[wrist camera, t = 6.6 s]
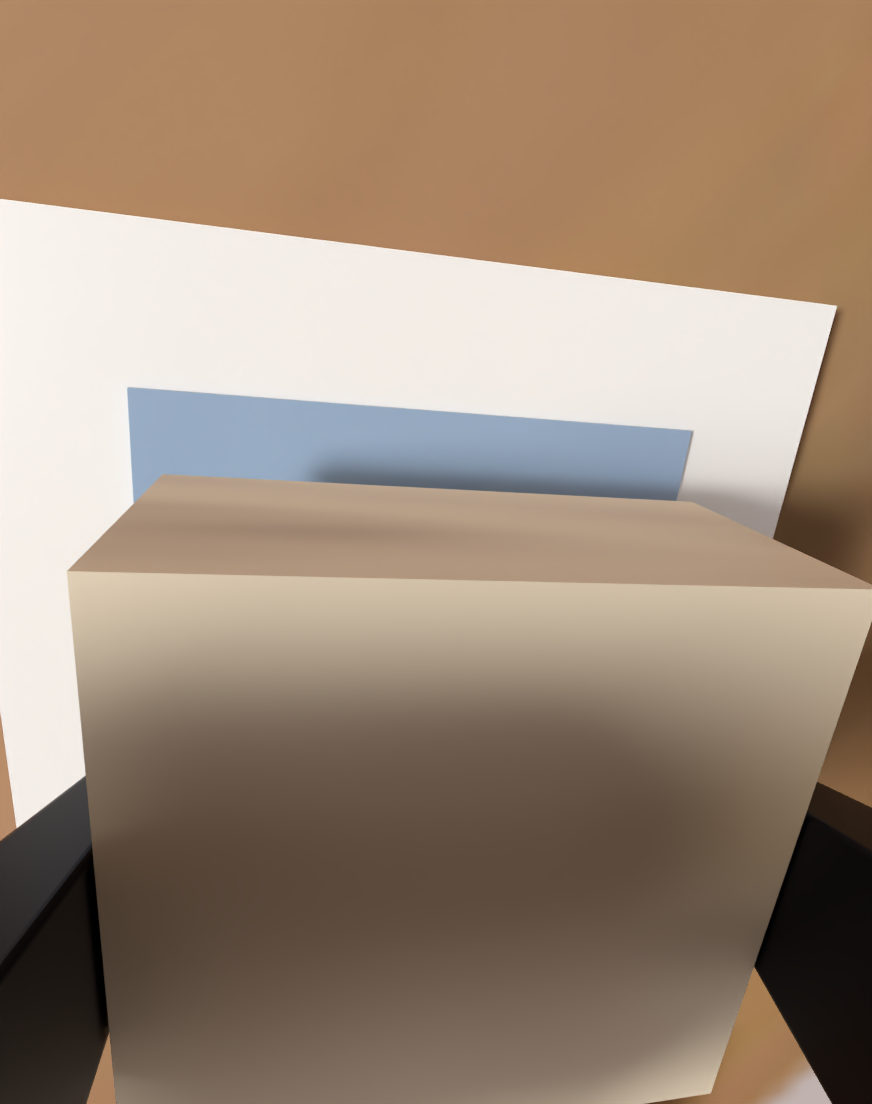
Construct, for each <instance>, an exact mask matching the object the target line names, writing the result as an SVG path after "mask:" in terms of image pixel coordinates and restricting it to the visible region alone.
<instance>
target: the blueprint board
mask: <svg viewBox="0 0 872 1104" xmlns="http://www.w3.org/2000/svg"><path fill="white" fill-rule="evenodd" d="M836 308H837V306H834V305H826V304H818V303H811V302H803V301H795V300H787V299H779V298H772V297H764V296H756V295H748V294H740V293H732V292H725V291H717V290H709V289H701V288H693V287H685V286H678V285H670V284H662V283H654V282H646V281H638V280H631V279H623V278H615V277H607V276H599V275H592V274H584V273H576V272H568V271H560V270H552V269H545V268H537V267H529V266H521V265H513V264H505V263H498V262H490V261H482V260H474V259H466V258H458V257H451V256H443V255H435V254H427V253H419V252H411V251H404V250H396V249H388V248H380V247H372V246H365V245H357V244H349V243H341V242H333V241H325V240H318V239H310V238H302V237H294V236H286V235H278V234H271V233H263V232H255V231H247V230H239V229H231V228H224V227H216V226H208V225H200V224H192V223H185V222H177V221H169V220H161V219H153V218H145V217H138V216H130V215H122V214H114V213H106V212H98V211H91V210H83V209H75V208H67V207H59V206H51V205H44V204H36V203H28V202H20V201H12V200H5V199H0V712H1V719H2V727H3V734H4V741H5V748H6V755H7V762H8V769H9V777H10V784H11V791H12V798H13V805H14V812H15V819H16V826H17V828H18V827H19V826H20V825H22V824H23V823H24V822H26V821H27V820H28V819H29V818H31V817H32V816H33V815H35V814H36V813H37V812H38V811H40V810H41V809H42V808H44V807H45V806H46V805H48V804H49V803H50V802H51V801H53V800H54V799H55V798H57V797H58V796H59V795H61V794H62V793H63V792H64V791H66V790H67V789H68V788H70V787H71V786H72V785H74V784H75V783H76V782H77V781H79V780H80V779H81V778H83V777H84V776H85V775H86V774H85V763H84V752H83V741H82V731H81V720H80V709H79V698H78V687H77V677H76V666H75V655H74V644H73V633H72V623H71V612H70V601H69V590H68V579H67V570H68V569H69V568H70V567H71V566H72V565H73V564H74V563H75V562H76V561H77V560H78V559H79V558H80V557H81V556H82V555H83V554H84V553H85V552H86V551H87V550H88V549H89V548H90V547H91V546H92V545H93V544H94V543H95V542H96V541H97V540H98V539H99V538H100V537H101V536H102V535H103V534H104V533H105V532H106V531H107V530H108V529H109V528H110V527H111V526H112V525H113V524H114V523H115V522H116V521H117V520H118V519H119V518H120V517H121V516H122V515H123V514H124V513H125V512H126V511H127V510H128V509H129V508H130V507H131V506H132V505H133V504H134V503H135V502H136V501H137V500H138V499H139V498H140V497H141V496H142V495H143V494H144V492H145V491H146V490H147V489H148V488H149V487H150V486H151V485H152V484H153V483H154V482H155V481H156V480H157V479H158V478H159V477H160V476H161V475H162V474H170V475H189V476H209V477H228V478H247V479H266V480H285V481H304V482H323V483H342V484H361V485H380V486H399V487H418V488H438V489H457V490H476V491H495V492H514V493H533V494H552V495H571V496H590V497H609V498H628V499H647V500H667V501H686V502H694V503H696V504H698V505H700V506H702V507H704V508H707V509H709V510H711V511H713V512H715V513H717V514H720V515H722V516H724V517H726V518H728V519H730V520H733V521H735V522H737V523H739V524H741V525H743V526H746V527H748V528H750V529H752V530H754V531H756V532H759V533H761V534H763V535H765V536H767V537H769V538H772V539H773V536H774V532H775V529H776V525H777V521H778V518H779V514H780V511H781V507H782V503H783V500H784V496H785V493H786V489H787V485H788V482H789V478H790V474H791V471H792V467H793V464H794V460H795V456H796V453H797V449H798V446H799V442H800V438H801V435H802V431H803V428H804V424H805V420H806V417H807V413H808V409H809V406H810V402H811V399H812V395H813V391H814V388H815V384H816V381H817V377H818V373H819V370H820V366H821V363H822V359H823V355H824V352H825V348H826V344H827V341H828V337H829V334H830V330H831V326H832V323H833V319H834V316H835V312H836Z"/></svg>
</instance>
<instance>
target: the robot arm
mask: <svg viewBox="0 0 872 1104" xmlns="http://www.w3.org/2000/svg"><path fill="white" fill-rule="evenodd" d="M754 967H755V969H756V971H757V972H758V974H759V976H760V978H761V979H762V981H763V983H764V985H765V987H766V988H767V990H768V992H769V994H770V995H771V997H772V999H773V1001H774V1002H775V1004H776V1006H777V1008H778V1009H779V1011H780V1013H781V1015H782V1017H783V1018H784V1020H785V1022H786V1024H787V1025H788V1027H789V1029H790V1031H791V1032H792V1034H793V1036H794V1038H795V1039H796V1041H797V1043H798V1045H799V1046H800V1048H801V1050H802V1052H803V1054H804V1055H805V1057H806V1059H807V1061H808V1062H809V1064H810V1066H811V1068H812V1069H813V1071H814V1073H815V1075H816V1076H817V1078H818V1080H819V1082H820V1084H821V1085H822V1087H823V1089H824V1091H825V1092H826V1094H827V1096H828V1098H829V1099H830V1101H831V1103H832V1104H872V808H871V807H869V806H867V805H865V804H863V803H861V802H858V801H856V800H854V799H852V798H850V797H848V796H846V795H844V794H842V793H840V792H837V791H835V790H833V789H831V788H829V787H827V786H825V785H823V784H821V783H819V782H817V783H816V786H815V789H814V792H813V795H812V798H811V801H810V804H809V806H808V809H807V812H806V815H805V818H804V821H803V824H802V827H801V830H800V833H799V836H798V839H797V842H796V844H795V847H794V850H793V853H792V856H791V859H790V862H789V865H788V868H787V871H786V874H785V877H784V880H783V883H782V885H781V888H780V891H779V894H778V897H777V900H776V903H775V906H774V909H773V912H772V915H771V918H770V921H769V923H768V926H767V929H766V932H765V935H764V938H763V941H762V944H761V947H760V950H759V953H758V956H757V959H756V962H755V964H754ZM108 1034H109V1022H108V1012H107V1001H106V990H105V979H104V968H103V957H102V947H101V936H100V925H99V914H98V903H97V893H96V882H95V871H94V860H93V849H92V839H91V828H90V817H89V806H88V795H87V785H86V775H85V776H84V777H83V778H81V779H80V780H79V781H77V782H76V783H75V784H74V785H72V786H71V787H70V788H68V789H67V790H66V791H64V792H63V793H62V794H61V795H59V796H58V797H57V798H55V799H54V800H53V801H51V802H50V803H49V804H48V805H46V806H45V807H44V808H42V809H41V810H40V811H38V812H37V813H36V814H35V815H33V816H32V817H31V818H29V819H28V820H27V821H26V822H24V823H23V824H22V825H20V826H19V827H18V828H16V829H15V830H14V831H13V832H11V833H10V834H9V835H7V836H6V837H5V838H3V839H2V840H1V841H0V1104H86V1103H87V1100H88V1097H89V1094H90V1090H91V1087H92V1084H93V1081H94V1078H95V1075H96V1072H97V1069H98V1065H99V1062H100V1059H101V1056H102V1053H103V1050H104V1047H105V1044H106V1040H107V1037H108Z"/></svg>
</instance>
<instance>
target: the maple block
mask: <svg viewBox="0 0 872 1104" xmlns="http://www.w3.org/2000/svg"><path fill="white" fill-rule="evenodd" d="M67 579H68V590H69V601H70V612H71V623H72V633H73V644H74V655H75V666H76V677H77V687H78V698H79V709H80V720H81V731H82V741H83V752H84V763H85V774H86V785H87V795H88V806H89V817H90V828H91V839H92V849H93V860H94V871H95V882H96V893H97V903H98V914H99V925H100V936H101V947H102V957H103V968H104V979H105V990H106V1001H107V1012H108V1022H109V1033H110V1044H111V1055H112V1066H113V1076H114V1087H115V1098H116V1104H647V1103H653V1102H659V1101H665V1100H672V1099H678V1098H684V1097H690V1096H697V1095H703V1094H709V1093H711V1090H712V1087H713V1084H714V1081H715V1079H716V1076H717V1073H718V1070H719V1067H720V1064H721V1061H722V1058H723V1055H724V1052H725V1049H726V1046H727V1043H728V1041H729V1038H730V1035H731V1032H732V1029H733V1026H734V1023H735V1020H736V1017H737V1014H738V1011H739V1008H740V1005H741V1002H742V1000H743V997H744V994H745V991H746V988H747V985H748V982H749V979H750V976H751V973H752V970H753V967H754V964H755V962H756V959H757V956H758V953H759V950H760V947H761V944H762V941H763V938H764V935H765V932H766V929H767V926H768V923H769V921H770V918H771V915H772V912H773V909H774V906H775V903H776V900H777V897H778V894H779V891H780V888H781V885H782V883H783V880H784V877H785V874H786V871H787V868H788V865H789V862H790V859H791V856H792V853H793V850H794V847H795V844H796V842H797V839H798V836H799V833H800V830H801V827H802V824H803V821H804V818H805V815H806V812H807V809H808V806H809V804H810V801H811V798H812V795H813V792H814V789H815V786H816V783H817V780H818V777H819V774H820V771H821V768H822V765H823V763H824V760H825V757H826V754H827V751H828V748H829V745H830V742H831V739H832V736H833V733H834V730H835V727H836V725H837V722H838V719H839V716H840V713H841V710H842V707H843V704H844V701H845V698H846V695H847V692H848V689H849V686H850V684H851V681H852V678H853V675H854V672H855V669H856V666H857V663H858V660H859V657H860V654H861V651H862V648H863V646H864V643H865V640H866V637H867V634H868V631H869V628H870V625H871V622H872V585H871V584H869V583H867V582H865V581H863V580H860V579H858V578H856V577H854V576H852V575H850V574H847V573H845V572H843V571H841V570H839V569H837V568H834V567H832V566H830V565H828V564H826V563H824V562H821V561H819V560H817V559H815V558H813V557H811V556H808V555H806V554H804V553H802V552H800V551H798V550H795V549H793V548H791V547H789V546H787V545H785V544H782V543H780V542H778V541H776V540H774V539H772V538H769V537H767V536H765V535H763V534H761V533H759V532H756V531H754V530H752V529H750V528H748V527H746V526H743V525H741V524H739V523H737V522H735V521H733V520H730V519H728V518H726V517H724V516H722V515H720V514H717V513H715V512H713V511H711V510H709V509H707V508H704V507H702V506H700V505H698V504H696V503H694V502H686V501H667V500H647V499H628V498H609V497H590V496H571V495H552V494H533V493H514V492H495V491H476V490H457V489H438V488H418V487H399V486H380V485H361V484H342V483H323V482H304V481H285V480H266V479H247V478H228V477H209V476H189V475H170V474H162V475H161V476H160V477H159V478H158V479H157V480H156V481H155V482H154V483H153V484H152V485H151V486H150V487H149V488H148V489H147V490H146V491H145V492H144V494H143V495H142V496H141V497H140V498H139V499H138V500H137V501H136V502H135V503H134V504H133V505H132V506H131V507H130V508H129V509H128V510H127V511H126V512H125V513H124V514H123V515H122V516H121V517H120V518H119V519H118V520H117V521H116V522H115V523H114V524H113V525H112V526H111V527H110V528H109V529H108V530H107V531H106V532H105V533H104V534H103V535H102V536H101V537H100V538H99V539H98V540H97V541H96V542H95V543H94V544H93V545H92V546H91V547H90V548H89V549H88V550H87V551H86V552H85V553H84V554H83V555H82V556H81V557H80V558H79V559H78V560H77V561H76V562H75V563H74V564H73V565H72V566H71V567H70V568H69V569H68V570H67Z"/></svg>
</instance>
